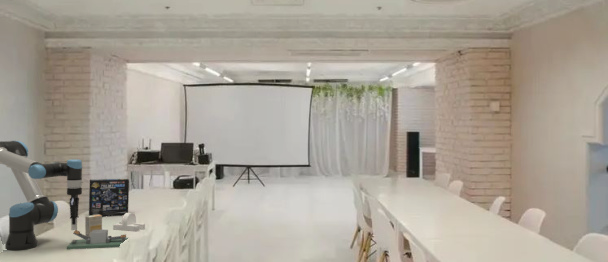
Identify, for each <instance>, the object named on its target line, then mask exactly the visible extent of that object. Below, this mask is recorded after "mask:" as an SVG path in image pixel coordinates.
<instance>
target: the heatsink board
mask: <svg viewBox="0 0 608 262" xmlns="http://www.w3.org/2000/svg"><path fill="white" fill-rule="evenodd" d="M108 234H109V229H102V230H93V231H92V232H91V233H90V239H87V240H85V239H83V238H79V239H73V240H71V242H69V244H68V245H67V246H66V250H79V249H80V250H81V249H86V248H87V249H103V248H104V249H105V248H107V249H109V248H120V247H119V246H120V244H121V243H123V242H124V241H125V240H127V239H128V238H129V237H126V238H125V239H116V240H110V239H107V238H108V237H109V236H110V237H112V235H108Z"/></svg>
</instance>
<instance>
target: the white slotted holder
mask: <svg viewBox="0 0 608 262" xmlns="http://www.w3.org/2000/svg"><path fill="white" fill-rule="evenodd" d="M145 229H146V223H141V222H137V216H136V214H135V213H133V212H128V213H125V214H124V215H123V217H122V220H121V222H120V221H119V222H118V223H113V225H112V230H113V231H122V232H123V231H124V232H134V233H135V232H140V230H142V231H143V230H145Z"/></svg>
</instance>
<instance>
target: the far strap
mask: <svg viewBox="0 0 608 262" xmlns="http://www.w3.org/2000/svg"><path fill="white" fill-rule="evenodd" d="M108 236H109V237H108V238H107V239H110V240H116V239H125V238H127V234H125V233H124V234H120V235H118V236H111V235H108ZM110 236H111V237H110Z"/></svg>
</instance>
